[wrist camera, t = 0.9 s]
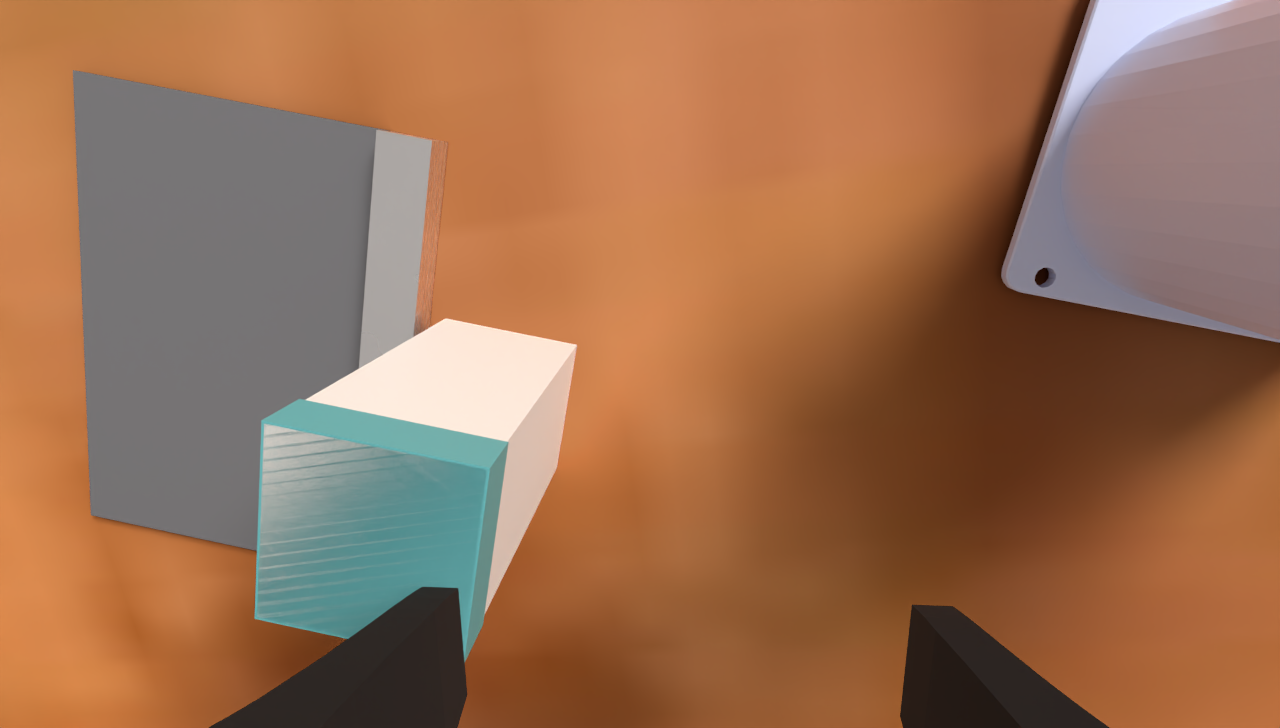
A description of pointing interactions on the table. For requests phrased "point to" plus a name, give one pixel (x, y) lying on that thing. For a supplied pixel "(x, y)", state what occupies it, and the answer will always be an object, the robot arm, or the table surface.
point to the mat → (209, 291)
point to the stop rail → (401, 240)
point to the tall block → (409, 478)
